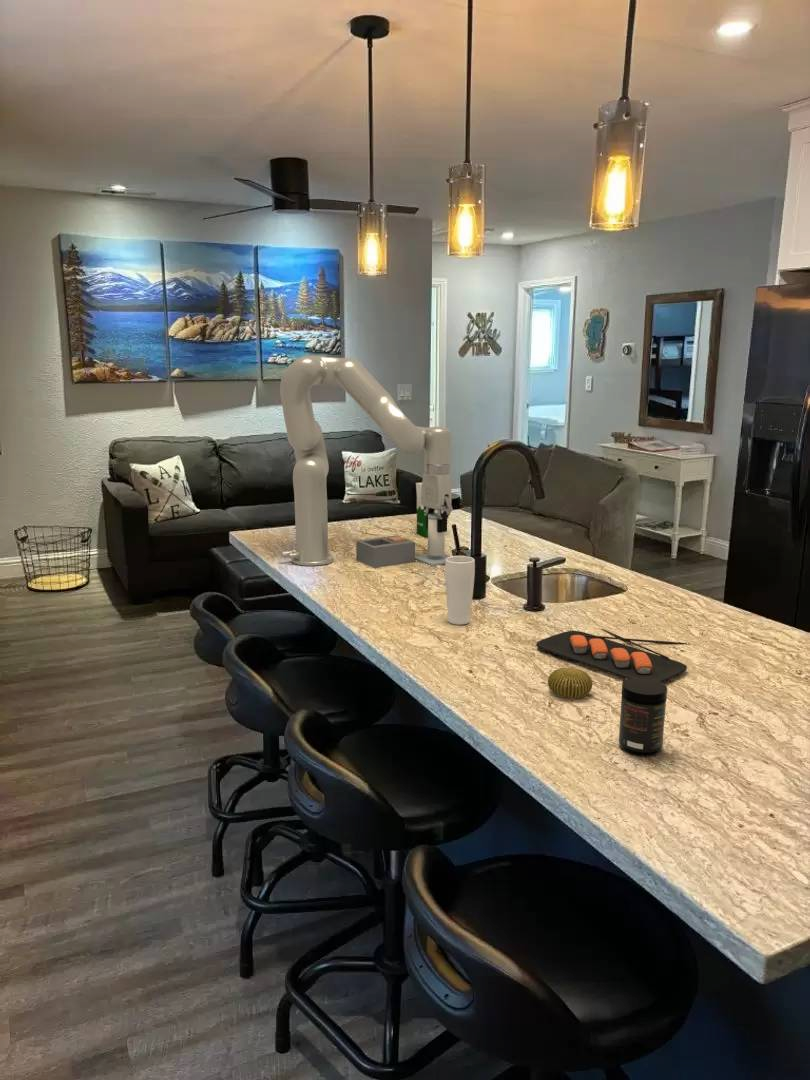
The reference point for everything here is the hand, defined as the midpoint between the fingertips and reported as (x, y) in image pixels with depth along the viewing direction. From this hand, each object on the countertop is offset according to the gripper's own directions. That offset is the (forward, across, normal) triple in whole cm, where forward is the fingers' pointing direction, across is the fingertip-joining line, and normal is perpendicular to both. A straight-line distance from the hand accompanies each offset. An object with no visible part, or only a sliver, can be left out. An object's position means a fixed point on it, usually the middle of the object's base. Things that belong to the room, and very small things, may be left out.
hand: (436, 529), depth 239 cm
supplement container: (+10, +115, -38) cm, 122 cm away
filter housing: (+10, -8, -13) cm, 18 cm away
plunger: (+8, -8, -9) cm, 14 cm away
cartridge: (+7, 0, 0) cm, 7 cm away
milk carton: (+10, -31, +18) cm, 37 cm away
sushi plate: (+10, +84, -7) cm, 85 cm away
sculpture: (+10, +93, -33) cm, 99 cm away
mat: (+10, 0, 0) cm, 10 cm away
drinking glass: (+10, +50, -27) cm, 58 cm away
